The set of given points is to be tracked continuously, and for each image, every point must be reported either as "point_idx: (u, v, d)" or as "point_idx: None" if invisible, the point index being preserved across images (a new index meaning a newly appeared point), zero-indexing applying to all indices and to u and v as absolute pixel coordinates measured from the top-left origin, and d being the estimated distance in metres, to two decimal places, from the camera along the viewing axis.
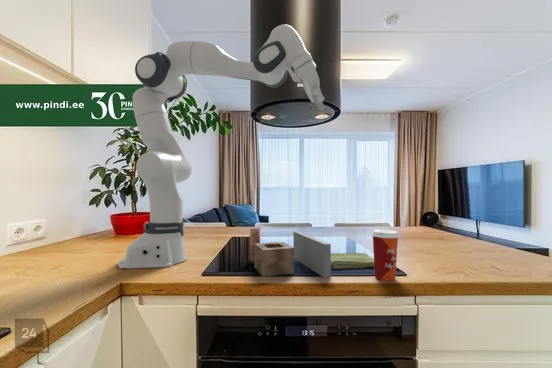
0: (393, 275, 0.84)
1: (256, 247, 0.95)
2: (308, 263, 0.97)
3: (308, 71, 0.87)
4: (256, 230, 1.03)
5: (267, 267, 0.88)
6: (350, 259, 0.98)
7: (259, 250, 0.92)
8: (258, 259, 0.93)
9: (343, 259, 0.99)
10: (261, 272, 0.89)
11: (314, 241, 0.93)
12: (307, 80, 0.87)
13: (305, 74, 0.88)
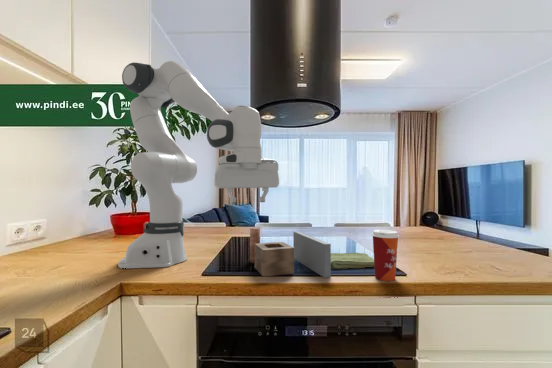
0: (393, 275, 0.84)
1: (256, 247, 0.95)
2: (308, 263, 0.97)
3: (216, 174, 0.87)
4: (256, 230, 1.03)
5: (267, 267, 0.88)
6: (350, 259, 0.98)
7: (259, 250, 0.92)
8: (258, 259, 0.93)
9: (343, 259, 0.99)
10: (261, 272, 0.89)
11: (314, 241, 0.93)
12: None
13: (215, 176, 0.88)
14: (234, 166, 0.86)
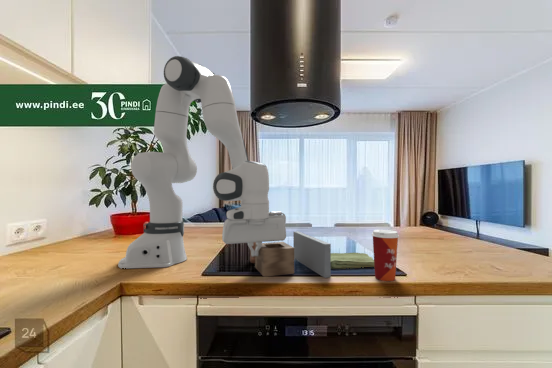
0: (393, 275, 0.84)
1: None
2: (308, 263, 0.97)
3: (223, 230, 0.89)
4: None
5: (267, 267, 0.88)
6: (349, 259, 0.98)
7: (259, 250, 0.92)
8: (258, 259, 0.93)
9: (342, 259, 0.99)
10: (261, 272, 0.90)
11: (314, 241, 0.93)
12: (222, 236, 0.90)
13: (223, 231, 0.90)
14: (241, 222, 0.88)
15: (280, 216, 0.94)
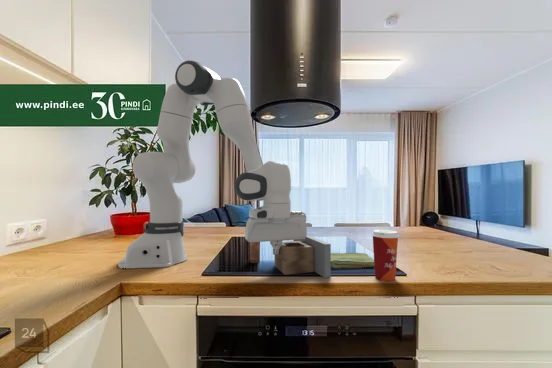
0: (393, 275, 0.84)
1: None
2: None
3: (246, 228, 0.91)
4: None
5: (288, 265, 0.90)
6: (349, 259, 0.98)
7: (280, 249, 0.94)
8: (278, 258, 0.95)
9: (342, 259, 0.99)
10: (282, 270, 0.91)
11: (314, 241, 0.93)
12: (245, 235, 0.92)
13: (245, 229, 0.92)
14: (264, 221, 0.90)
15: (301, 215, 0.96)
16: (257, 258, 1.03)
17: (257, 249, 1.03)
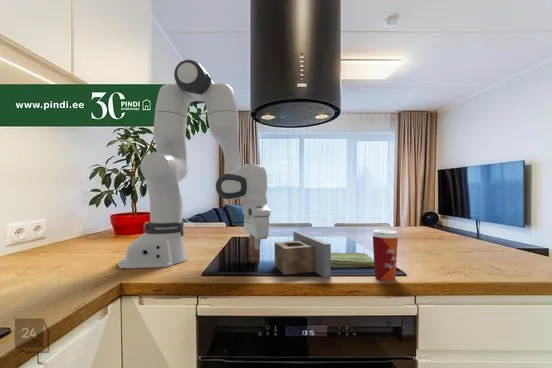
0: (393, 275, 0.84)
1: (276, 246, 0.97)
2: None
3: (263, 227, 0.95)
4: None
5: (288, 265, 0.90)
6: (348, 259, 0.99)
7: (280, 249, 0.94)
8: (278, 258, 0.95)
9: (341, 259, 0.99)
10: (282, 270, 0.91)
11: (314, 241, 0.93)
12: (258, 234, 0.94)
13: (259, 228, 0.95)
14: None
15: None
16: (257, 258, 1.03)
17: (257, 249, 1.03)
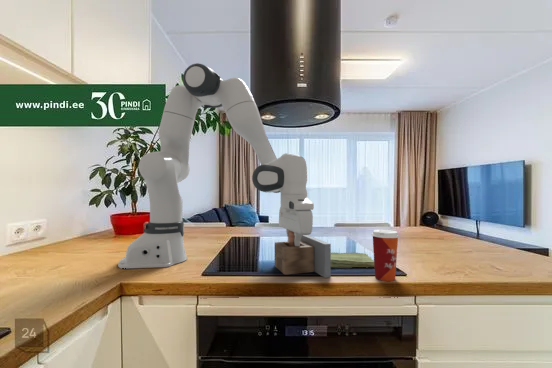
0: (393, 275, 0.84)
1: (276, 246, 0.97)
2: None
3: (306, 221, 0.87)
4: None
5: (288, 265, 0.90)
6: (346, 258, 0.99)
7: (280, 249, 0.94)
8: (278, 258, 0.95)
9: (340, 258, 1.00)
10: (282, 270, 0.91)
11: (314, 241, 0.93)
12: (302, 229, 0.86)
13: (303, 223, 0.87)
14: None
15: None
16: None
17: None
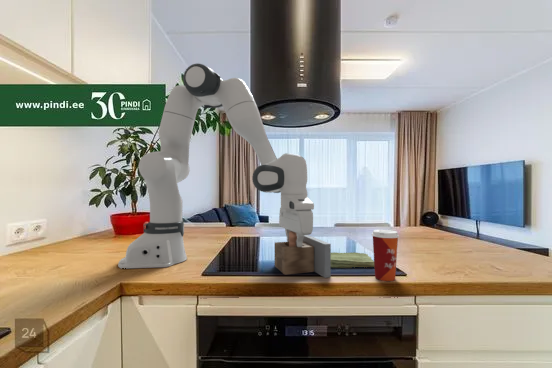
0: (393, 275, 0.84)
1: (276, 246, 0.97)
2: None
3: (307, 221, 0.87)
4: (296, 234, 0.95)
5: (288, 265, 0.90)
6: (346, 258, 0.99)
7: (280, 249, 0.94)
8: (278, 258, 0.95)
9: (339, 258, 1.00)
10: (282, 270, 0.91)
11: (314, 241, 0.93)
12: (302, 229, 0.86)
13: (303, 223, 0.87)
14: None
15: None
16: None
17: None
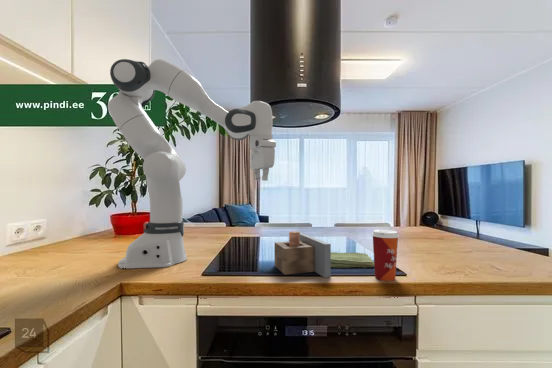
0: (393, 275, 0.84)
1: (276, 246, 0.97)
2: None
3: (269, 155, 1.02)
4: (296, 234, 0.95)
5: (288, 265, 0.90)
6: (346, 258, 0.99)
7: (280, 249, 0.94)
8: (278, 258, 0.95)
9: (339, 258, 1.00)
10: (282, 270, 0.91)
11: (314, 241, 0.93)
12: (265, 162, 1.01)
13: (266, 157, 1.02)
14: None
15: None
16: None
17: None
